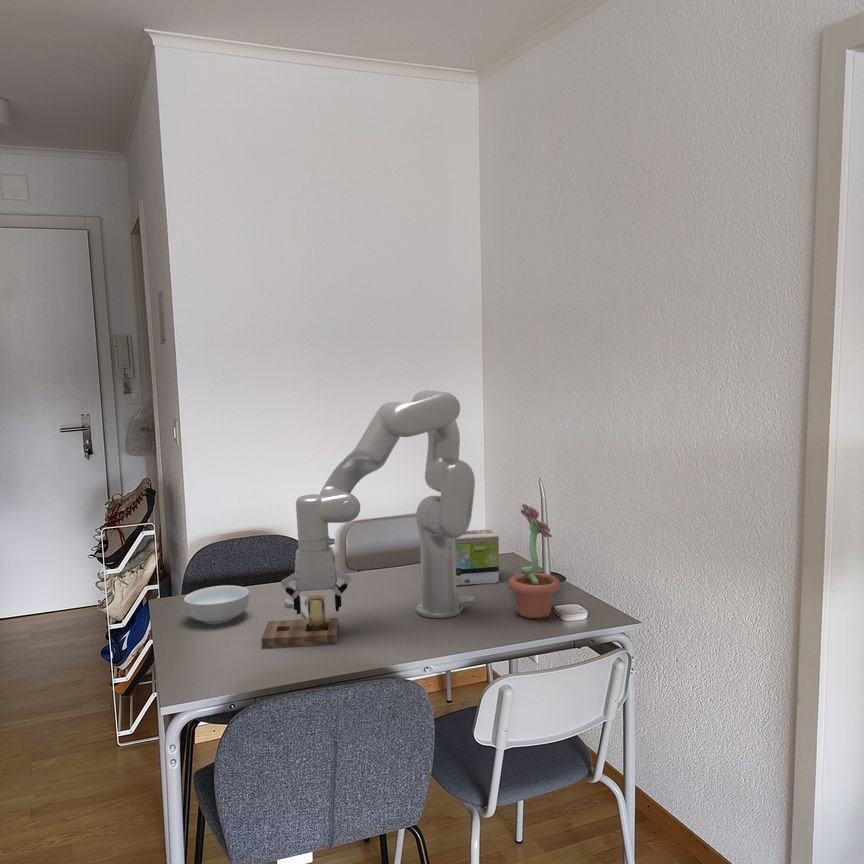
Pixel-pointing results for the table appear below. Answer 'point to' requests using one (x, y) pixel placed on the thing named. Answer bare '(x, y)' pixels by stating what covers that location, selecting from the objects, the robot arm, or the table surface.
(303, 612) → the adjustable wrench
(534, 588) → the decorative flower
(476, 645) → the table surface
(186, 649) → the table surface
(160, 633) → the table surface
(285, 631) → the socket board
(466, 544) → the tea box
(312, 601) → the brass peg
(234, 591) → the cereal bowl
